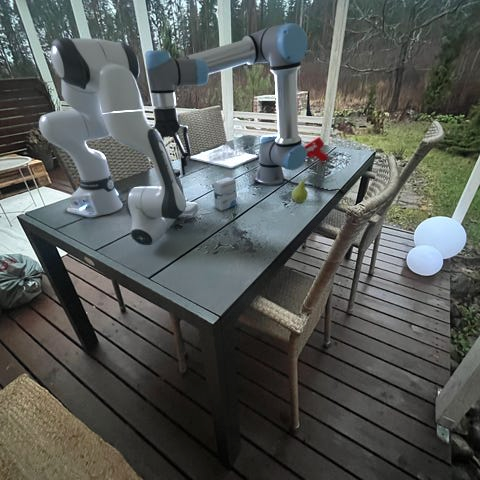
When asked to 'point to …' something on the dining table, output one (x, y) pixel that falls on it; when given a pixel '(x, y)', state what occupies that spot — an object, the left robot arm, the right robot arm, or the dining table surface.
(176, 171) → the cap
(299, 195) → the fruit
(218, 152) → the relief map
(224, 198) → the ink box
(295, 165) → the right robot arm
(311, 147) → the toy gun
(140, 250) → the dining table surface
